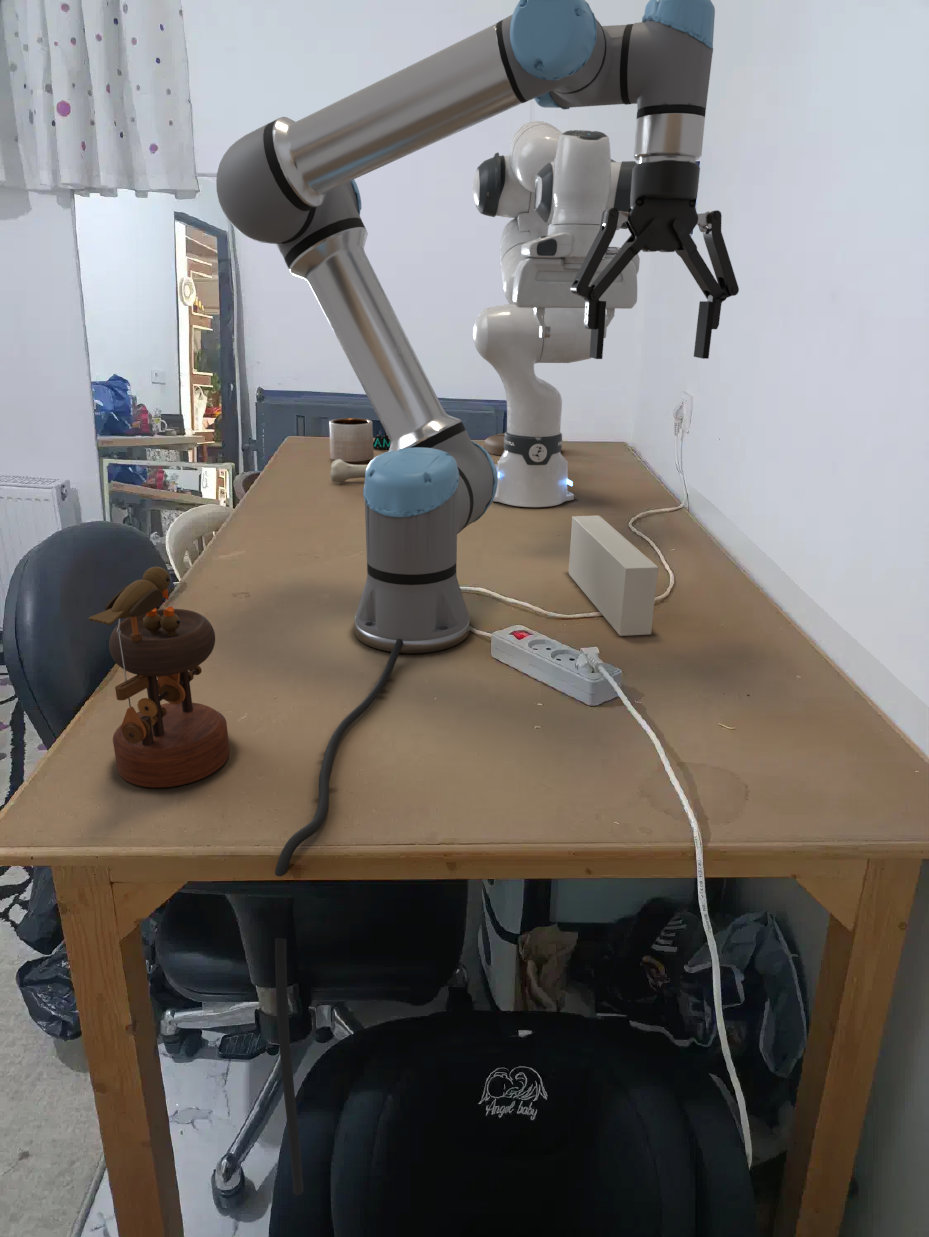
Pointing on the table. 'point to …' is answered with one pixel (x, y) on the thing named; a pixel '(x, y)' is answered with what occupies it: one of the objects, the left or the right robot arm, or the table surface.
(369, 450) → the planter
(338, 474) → the dog toy
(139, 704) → the music box
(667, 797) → the table surface
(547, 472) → the right robot arm
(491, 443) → the ice cream bar
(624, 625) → the bar
